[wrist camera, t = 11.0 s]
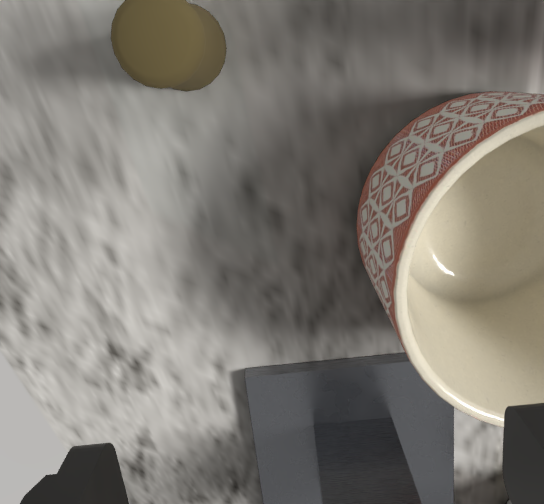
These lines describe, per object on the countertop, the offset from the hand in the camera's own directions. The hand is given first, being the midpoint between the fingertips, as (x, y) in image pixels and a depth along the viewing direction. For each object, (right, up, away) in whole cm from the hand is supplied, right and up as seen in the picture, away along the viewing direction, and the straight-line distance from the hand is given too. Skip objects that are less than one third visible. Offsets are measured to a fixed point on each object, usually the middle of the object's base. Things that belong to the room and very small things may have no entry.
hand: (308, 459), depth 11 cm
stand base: (+7, -14, +39) cm, 41 cm away
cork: (-7, +19, +28) cm, 34 cm away
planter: (+15, +7, +32) cm, 36 cm away
